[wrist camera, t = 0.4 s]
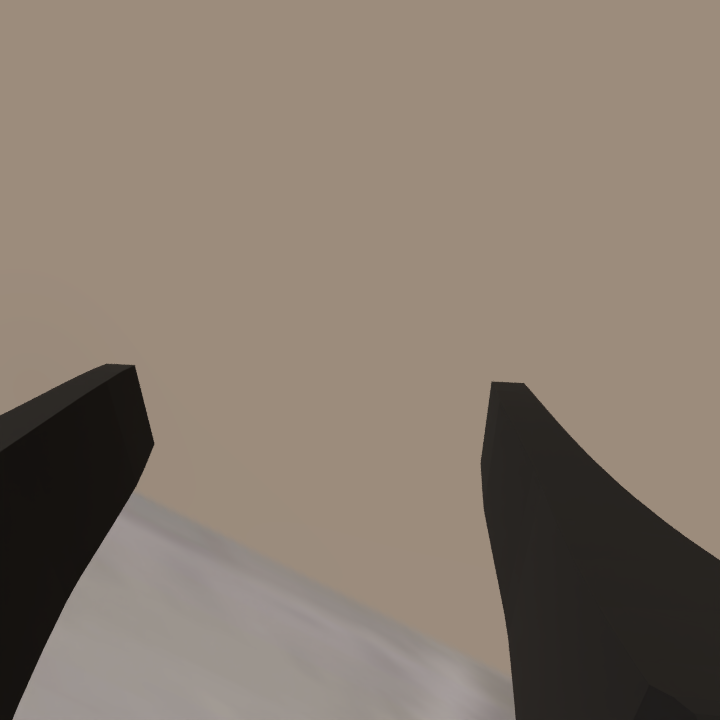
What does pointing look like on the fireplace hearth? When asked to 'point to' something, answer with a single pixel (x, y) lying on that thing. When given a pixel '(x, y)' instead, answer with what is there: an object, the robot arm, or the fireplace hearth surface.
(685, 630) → the robot arm
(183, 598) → the fireplace hearth surface
